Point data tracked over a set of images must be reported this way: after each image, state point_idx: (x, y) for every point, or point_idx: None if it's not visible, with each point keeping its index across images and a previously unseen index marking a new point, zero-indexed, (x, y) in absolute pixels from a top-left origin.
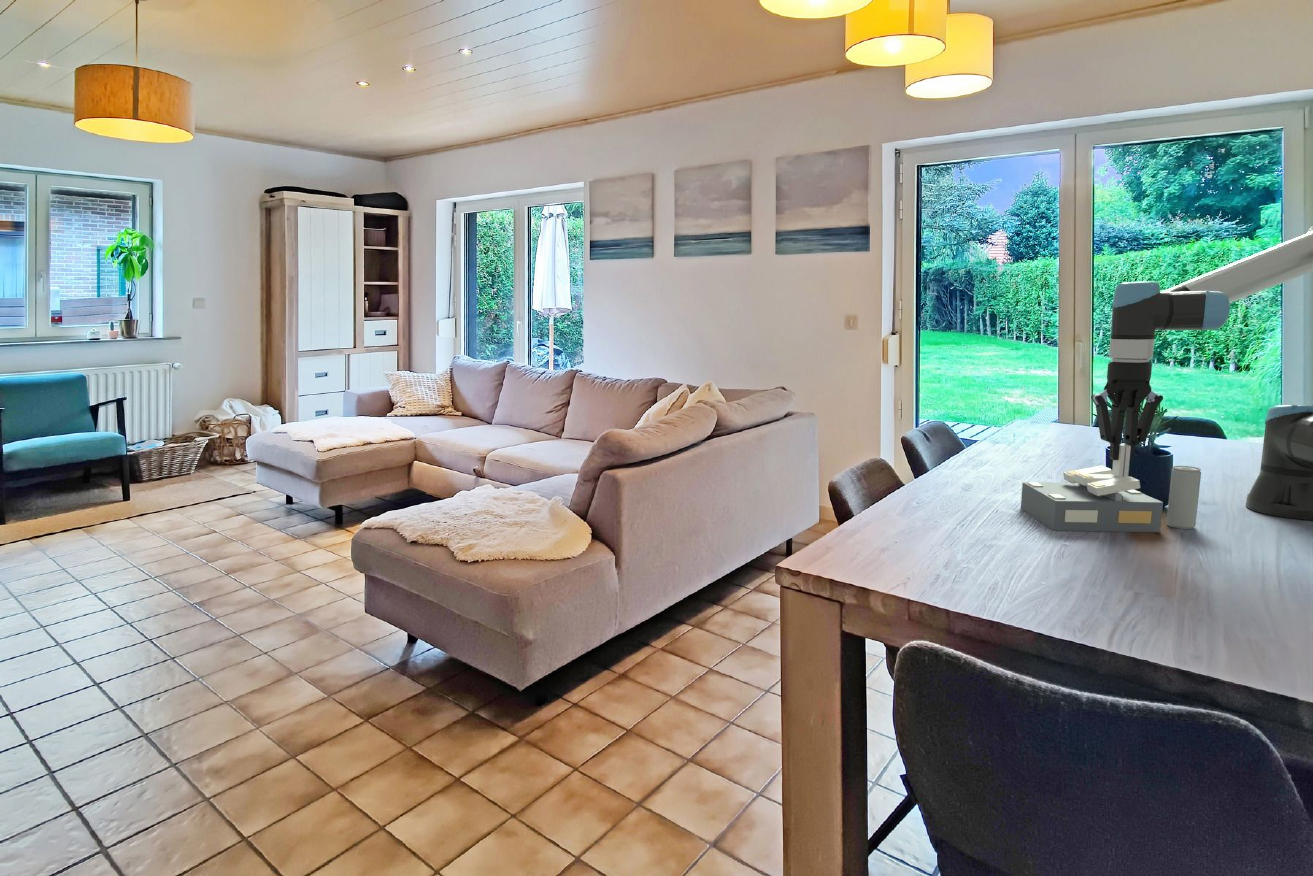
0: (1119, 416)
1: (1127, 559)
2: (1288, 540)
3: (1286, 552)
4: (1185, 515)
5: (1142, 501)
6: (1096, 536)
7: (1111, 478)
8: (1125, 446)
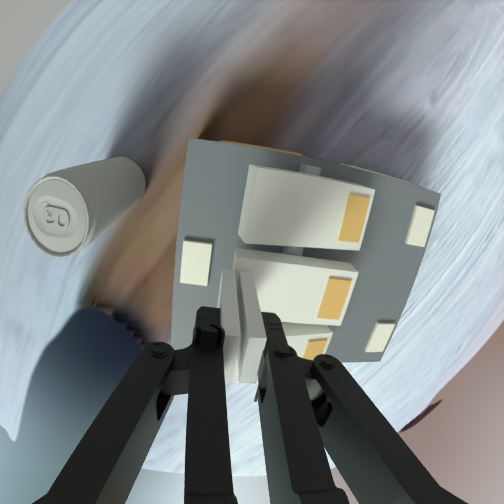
0: (320, 462)
1: (382, 9)
2: (13, 96)
3: (69, 21)
4: (120, 160)
5: (242, 152)
6: (355, 128)
7: (282, 263)
8: (239, 341)
